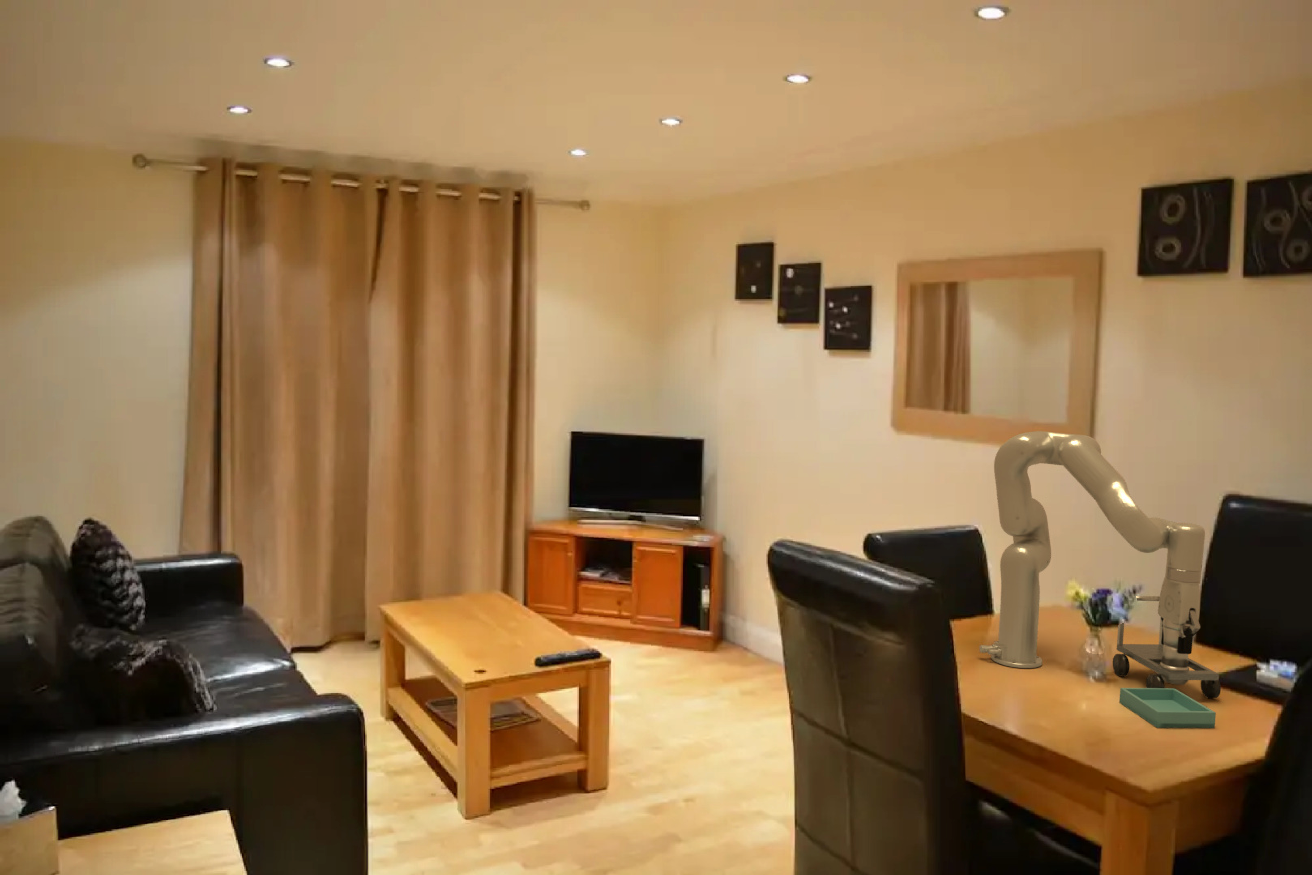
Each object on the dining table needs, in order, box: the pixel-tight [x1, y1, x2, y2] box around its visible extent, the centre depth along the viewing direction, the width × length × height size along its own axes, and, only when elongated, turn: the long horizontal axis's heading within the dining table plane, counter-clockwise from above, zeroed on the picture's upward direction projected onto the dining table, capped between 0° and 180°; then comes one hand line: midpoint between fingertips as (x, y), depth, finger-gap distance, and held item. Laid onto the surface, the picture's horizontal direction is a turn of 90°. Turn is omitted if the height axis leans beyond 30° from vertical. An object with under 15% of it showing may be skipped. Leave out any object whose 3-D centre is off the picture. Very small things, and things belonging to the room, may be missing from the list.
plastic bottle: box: [1160, 618, 1190, 686], centre depth 246 cm, size 6×7×20 cm
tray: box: [1118, 687, 1217, 729], centre depth 231 cm, size 13×16×4 cm
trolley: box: [1112, 595, 1222, 699], centre depth 251 cm, size 15×24×20 cm, turn 4°
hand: (1176, 648), depth 246 cm, fingers closed on plastic bottle, 6 cm apart
